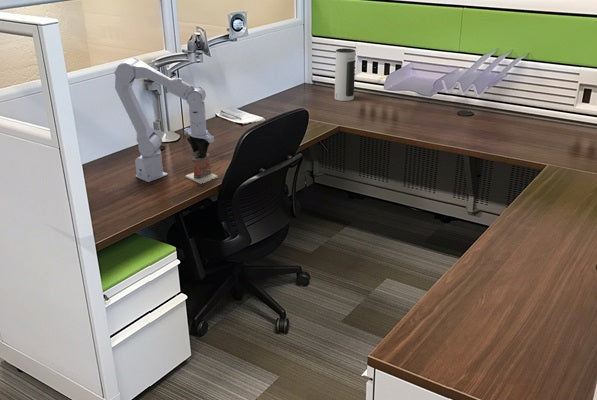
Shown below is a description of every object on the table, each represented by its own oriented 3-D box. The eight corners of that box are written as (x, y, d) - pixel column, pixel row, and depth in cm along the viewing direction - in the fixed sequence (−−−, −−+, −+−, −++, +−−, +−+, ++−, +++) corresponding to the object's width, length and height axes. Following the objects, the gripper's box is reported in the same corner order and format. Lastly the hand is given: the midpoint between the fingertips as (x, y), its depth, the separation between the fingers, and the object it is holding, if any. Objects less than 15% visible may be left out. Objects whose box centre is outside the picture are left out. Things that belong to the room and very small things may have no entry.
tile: (201, 183, 231) (201, 181, 230) (185, 177, 236) (185, 175, 236) (217, 177, 236) (217, 175, 236) (201, 171, 242) (201, 169, 241)
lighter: (207, 171, 240) (204, 146, 236) (213, 172, 238) (211, 147, 234) (191, 177, 234) (188, 152, 230) (198, 179, 232) (195, 153, 228)
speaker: (340, 102, 326) (342, 52, 315) (330, 97, 334) (331, 48, 323) (357, 99, 331) (359, 50, 320) (346, 94, 339) (348, 46, 328)
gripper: (219, 122, 225) (221, 158, 231) (193, 114, 234) (195, 148, 240) (204, 127, 220) (206, 163, 226) (178, 119, 229) (181, 153, 235)
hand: (200, 156), depth 233 cm, fingers open, 3 cm apart
